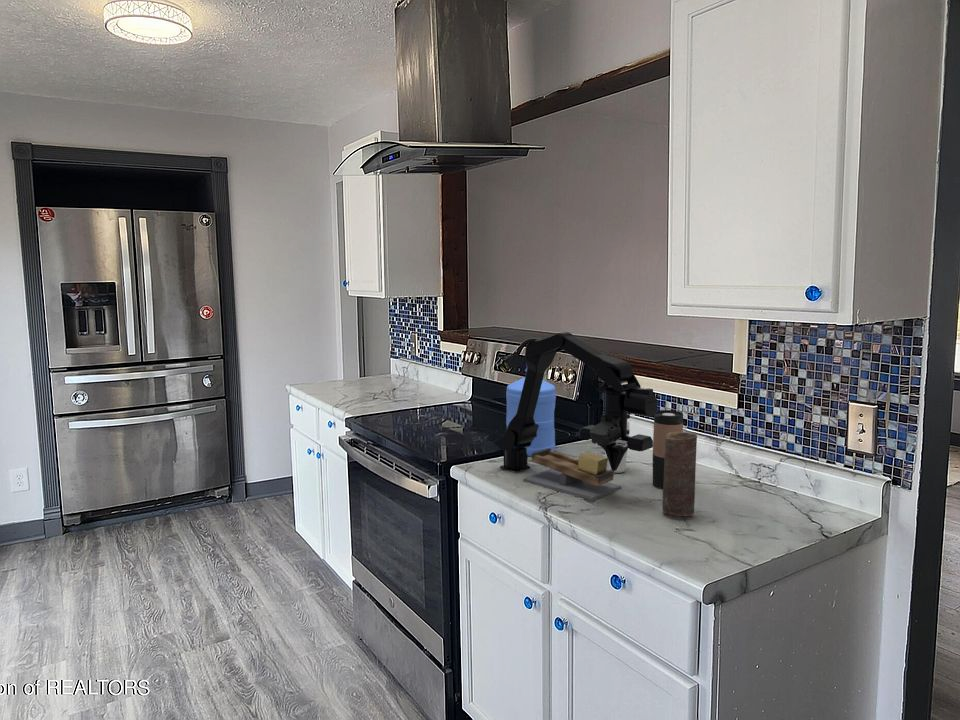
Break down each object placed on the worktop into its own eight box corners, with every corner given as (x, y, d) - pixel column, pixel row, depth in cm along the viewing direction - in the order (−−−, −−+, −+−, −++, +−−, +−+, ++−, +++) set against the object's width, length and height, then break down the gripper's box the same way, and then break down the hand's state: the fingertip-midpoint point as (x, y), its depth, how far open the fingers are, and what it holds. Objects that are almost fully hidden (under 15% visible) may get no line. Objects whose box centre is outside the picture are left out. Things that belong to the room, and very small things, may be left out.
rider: (577, 472, 184) (579, 454, 183) (586, 469, 187) (588, 451, 186) (596, 479, 180) (598, 461, 179) (605, 475, 183) (607, 457, 182)
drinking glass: (628, 475, 197) (629, 423, 195) (604, 473, 198) (605, 422, 196) (628, 468, 203) (629, 417, 201) (604, 466, 205) (605, 417, 202)
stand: (523, 481, 192) (523, 468, 191) (552, 470, 201) (552, 458, 200) (592, 500, 176) (593, 487, 175) (620, 488, 185) (621, 475, 185)
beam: (531, 461, 193) (532, 452, 192) (547, 456, 198) (548, 447, 197) (597, 486, 178) (598, 477, 177) (613, 479, 183) (614, 470, 183)
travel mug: (683, 483, 189) (685, 411, 187) (678, 491, 183) (681, 417, 180) (654, 479, 193) (656, 408, 190) (648, 487, 186) (651, 414, 183)
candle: (688, 523, 161) (692, 438, 158) (657, 517, 165) (660, 434, 162) (697, 513, 167) (701, 431, 164) (667, 507, 171) (670, 428, 168)
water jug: (537, 460, 212) (537, 369, 208) (496, 451, 221) (496, 364, 217) (564, 449, 224) (565, 363, 220) (524, 441, 233) (525, 359, 229)
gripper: (566, 410, 177) (565, 469, 179) (630, 422, 164) (628, 485, 166) (592, 403, 185) (590, 460, 187) (655, 414, 172) (652, 475, 174)
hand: (614, 470), depth 178 cm, fingers closed
